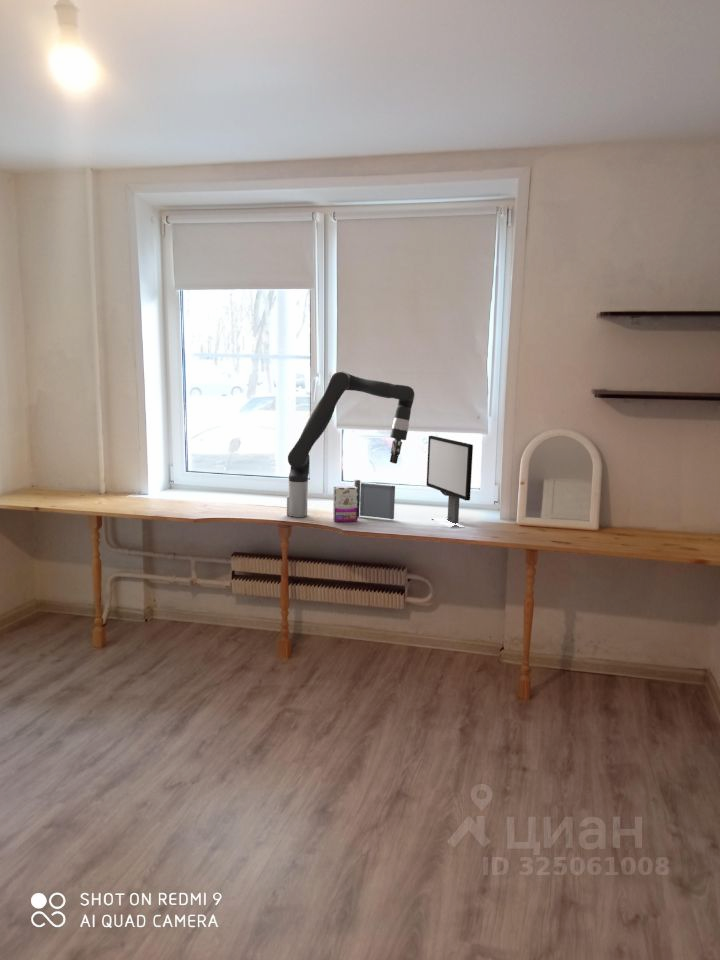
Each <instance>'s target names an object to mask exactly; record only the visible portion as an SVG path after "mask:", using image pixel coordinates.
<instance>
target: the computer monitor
mask: <svg viewBox="0 0 720 960" xmlns="http://www.w3.org/2000/svg"><path fill="white" fill-rule="evenodd" d="M473 453H474V445H473V444H471V443H467V442H462V441H458V440H452V439H449V438H443V437H439V436H435V435H428V447H427V463H426V466H427V468H426V469H427V470H426V487H429V488H432V489H434V490H437V491H440V493H441V494H442V495H444V496H445V497H448V499H447V500H448V504H447V518H448V519H447V520H448V521H450V522H452V523H455V524H456V523H459V514H460V499H461V500H464V501H471V491H472V490H471V486H472V469H473V468H472V467H473ZM452 527H453V528H452V529H455V528H454V527H459V526H457V525H454V526H452Z"/></svg>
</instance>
